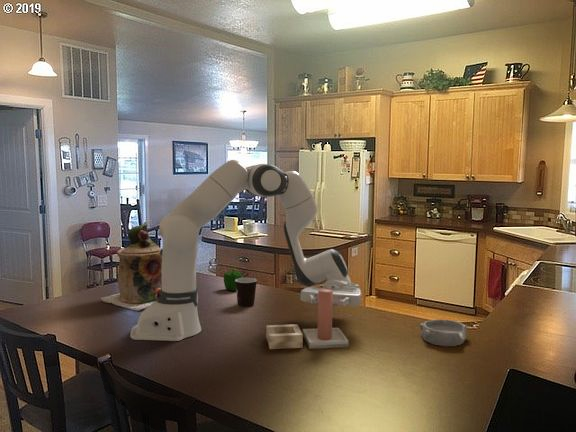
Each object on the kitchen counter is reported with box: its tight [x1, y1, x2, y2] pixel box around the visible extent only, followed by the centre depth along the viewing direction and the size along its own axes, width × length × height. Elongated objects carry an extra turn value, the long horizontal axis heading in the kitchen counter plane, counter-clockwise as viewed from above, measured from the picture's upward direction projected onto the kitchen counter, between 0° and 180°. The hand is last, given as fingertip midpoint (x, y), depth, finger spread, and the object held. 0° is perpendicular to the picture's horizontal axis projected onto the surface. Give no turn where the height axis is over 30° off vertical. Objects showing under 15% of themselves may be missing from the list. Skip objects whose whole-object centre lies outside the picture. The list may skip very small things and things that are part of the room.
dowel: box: [317, 289, 333, 340], centre depth 148 cm, size 4×4×15 cm
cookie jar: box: [100, 221, 163, 311], centre depth 192 cm, size 25×25×32 cm
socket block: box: [265, 323, 304, 350], centre depth 147 cm, size 10×10×4 cm
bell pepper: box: [223, 268, 243, 292], centre depth 211 cm, size 8×8×10 cm
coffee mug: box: [235, 277, 258, 308], centre depth 189 cm, size 12×9×10 cm
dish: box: [419, 318, 468, 347], centre depth 151 cm, size 14×14×5 cm
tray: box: [302, 327, 349, 350], centre depth 149 cm, size 12×12×2 cm
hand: (327, 302), depth 150 cm, fingers open, 8 cm apart
